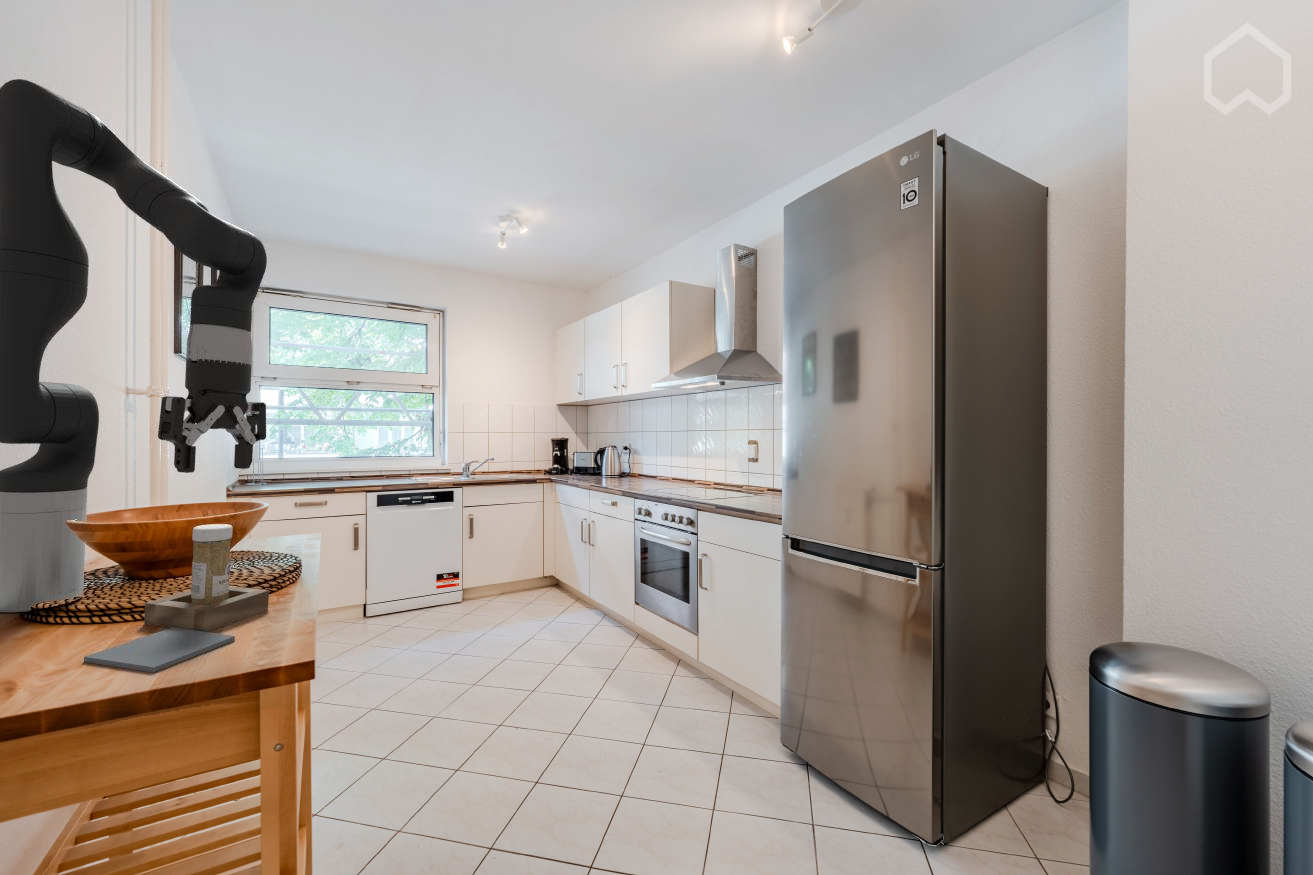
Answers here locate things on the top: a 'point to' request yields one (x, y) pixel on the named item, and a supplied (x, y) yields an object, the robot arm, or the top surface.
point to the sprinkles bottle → (211, 563)
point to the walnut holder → (205, 610)
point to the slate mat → (159, 649)
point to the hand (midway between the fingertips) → (215, 470)
